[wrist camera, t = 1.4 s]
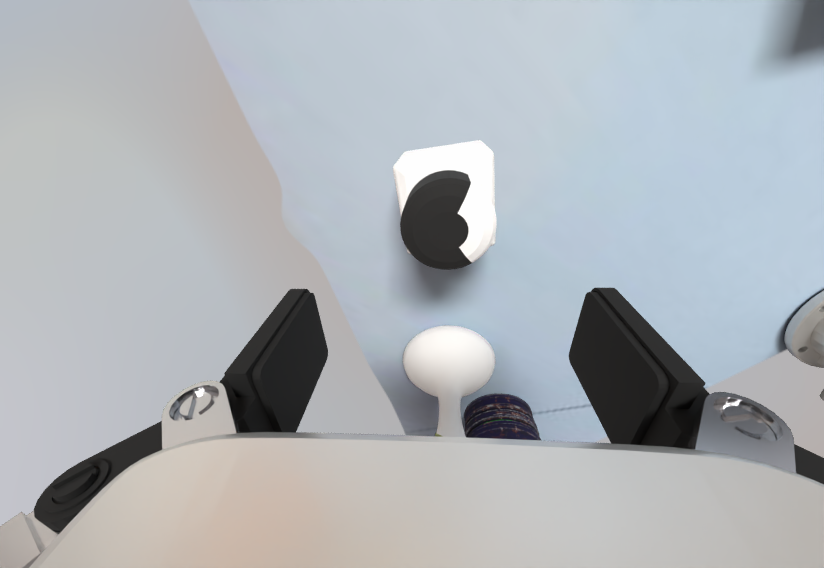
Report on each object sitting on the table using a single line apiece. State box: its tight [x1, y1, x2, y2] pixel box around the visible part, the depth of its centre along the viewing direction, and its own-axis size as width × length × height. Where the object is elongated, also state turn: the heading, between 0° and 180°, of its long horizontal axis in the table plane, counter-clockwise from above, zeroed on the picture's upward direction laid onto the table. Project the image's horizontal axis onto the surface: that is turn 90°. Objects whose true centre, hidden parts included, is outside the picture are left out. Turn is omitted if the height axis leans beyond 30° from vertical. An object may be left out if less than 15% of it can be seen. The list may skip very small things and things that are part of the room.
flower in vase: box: [403, 325, 495, 438], centre depth 29 cm, size 13×11×25 cm
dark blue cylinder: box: [464, 394, 541, 440], centre depth 39 cm, size 10×10×15 cm
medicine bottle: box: [393, 140, 496, 270], centre depth 24 cm, size 7×7×12 cm
